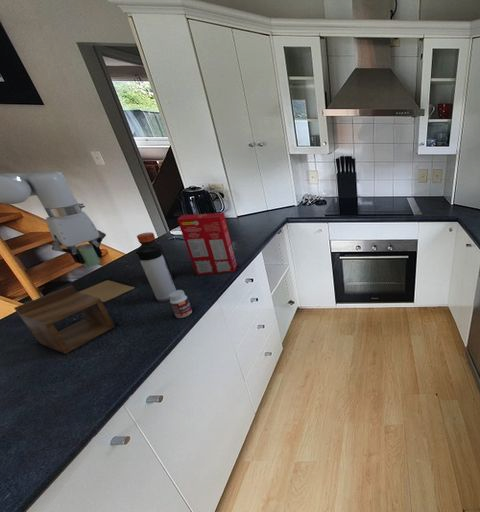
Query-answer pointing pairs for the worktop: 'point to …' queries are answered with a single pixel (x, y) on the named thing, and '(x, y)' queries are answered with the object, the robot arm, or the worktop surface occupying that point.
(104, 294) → the cork mat
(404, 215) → the worktop surface
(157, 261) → the travel mug
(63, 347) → the shelf unit
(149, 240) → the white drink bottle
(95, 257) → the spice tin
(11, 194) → the robot arm
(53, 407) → the worktop surface
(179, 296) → the pill bottle
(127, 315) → the worktop surface
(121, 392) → the worktop surface
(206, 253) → the food packaging
